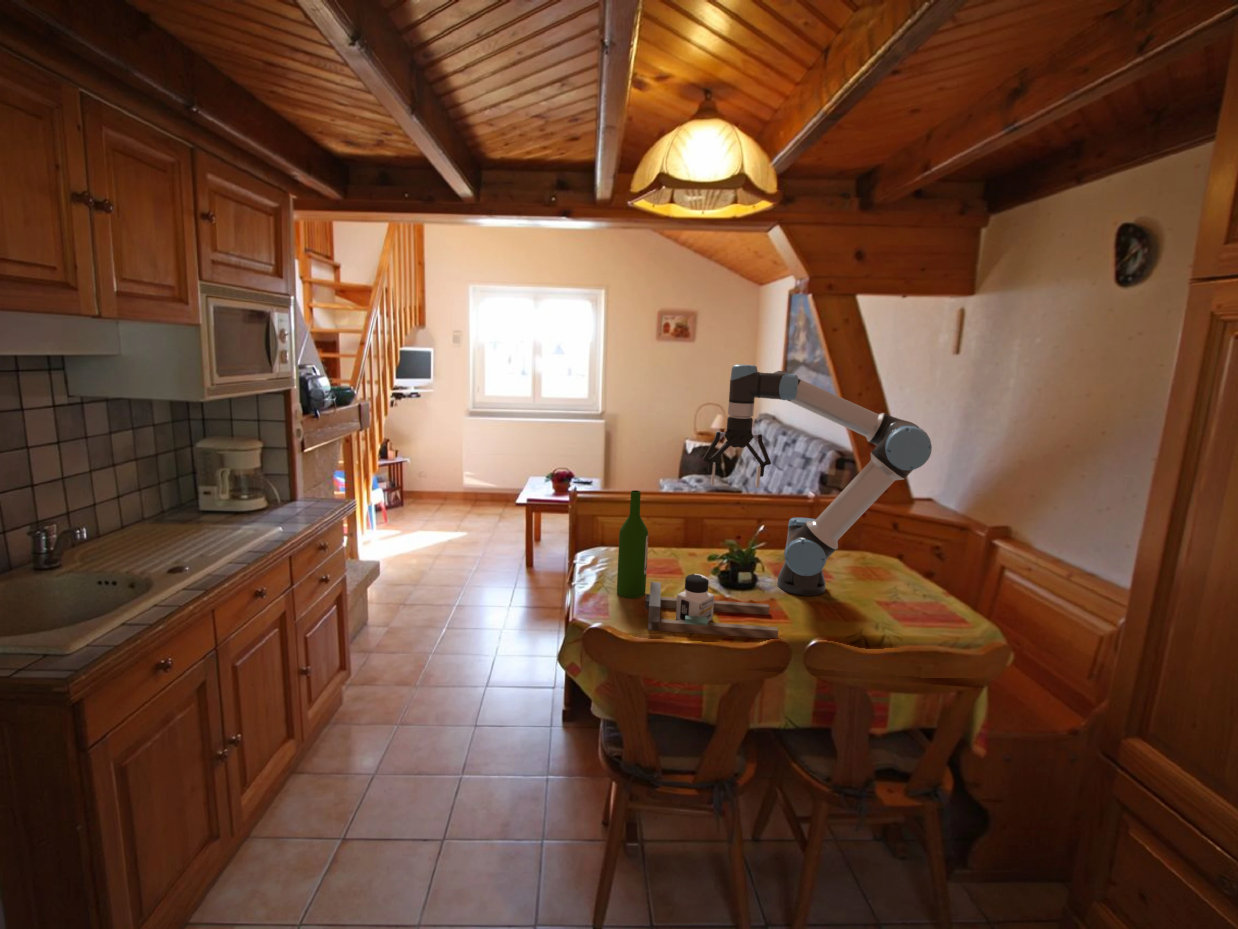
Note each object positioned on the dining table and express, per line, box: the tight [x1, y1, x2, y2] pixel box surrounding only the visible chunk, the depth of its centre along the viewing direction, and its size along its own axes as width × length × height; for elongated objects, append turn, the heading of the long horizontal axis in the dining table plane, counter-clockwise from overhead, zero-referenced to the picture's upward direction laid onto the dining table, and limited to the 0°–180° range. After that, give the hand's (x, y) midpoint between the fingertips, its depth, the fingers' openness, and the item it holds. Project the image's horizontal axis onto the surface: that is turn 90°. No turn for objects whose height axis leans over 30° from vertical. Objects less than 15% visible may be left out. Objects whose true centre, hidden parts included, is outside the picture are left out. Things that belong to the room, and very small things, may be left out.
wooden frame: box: [644, 581, 779, 640], centre depth 179 cm, size 36×17×7 cm, turn 86°
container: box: [675, 573, 715, 622], centre depth 178 cm, size 8×8×13 cm
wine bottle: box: [616, 490, 649, 599], centre depth 193 cm, size 9×9×32 cm
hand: (734, 485), depth 193 cm, fingers open, 13 cm apart
